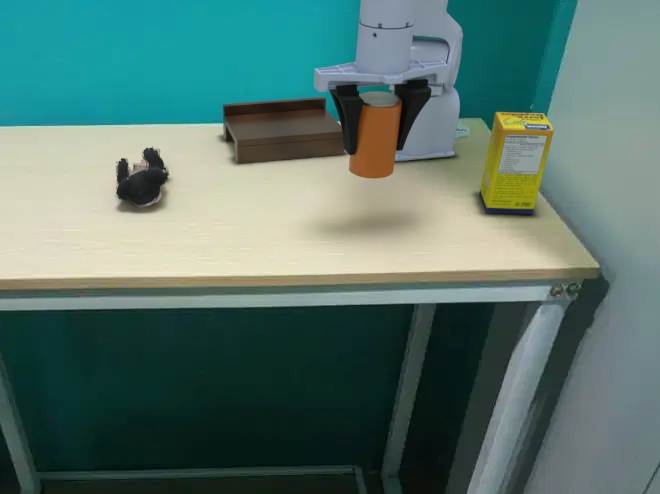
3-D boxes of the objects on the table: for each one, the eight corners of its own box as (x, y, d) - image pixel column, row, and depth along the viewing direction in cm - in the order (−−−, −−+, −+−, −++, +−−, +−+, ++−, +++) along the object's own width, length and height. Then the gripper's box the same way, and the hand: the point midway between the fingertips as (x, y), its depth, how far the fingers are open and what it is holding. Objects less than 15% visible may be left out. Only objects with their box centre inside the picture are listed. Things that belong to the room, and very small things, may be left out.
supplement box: (523, 195, 97) (544, 111, 90) (533, 215, 92) (555, 129, 85) (477, 193, 97) (494, 110, 90) (484, 213, 92) (503, 127, 86)
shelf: (322, 128, 116) (324, 96, 113) (344, 154, 108) (346, 120, 105) (223, 136, 114) (222, 103, 111) (237, 163, 105) (237, 129, 102)
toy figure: (115, 170, 104) (115, 211, 92) (116, 125, 101) (115, 162, 89) (166, 173, 106) (172, 214, 93) (168, 129, 102) (174, 166, 90)
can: (384, 159, 89) (392, 89, 83) (400, 176, 85) (410, 103, 79) (343, 163, 88) (349, 92, 83) (357, 180, 84) (364, 107, 79)
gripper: (331, 36, 72) (322, 168, 80) (468, 27, 74) (445, 157, 83) (311, 19, 77) (305, 145, 86) (439, 12, 80) (421, 135, 88)
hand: (372, 149), depth 85 cm, fingers closed on can, 5 cm apart
